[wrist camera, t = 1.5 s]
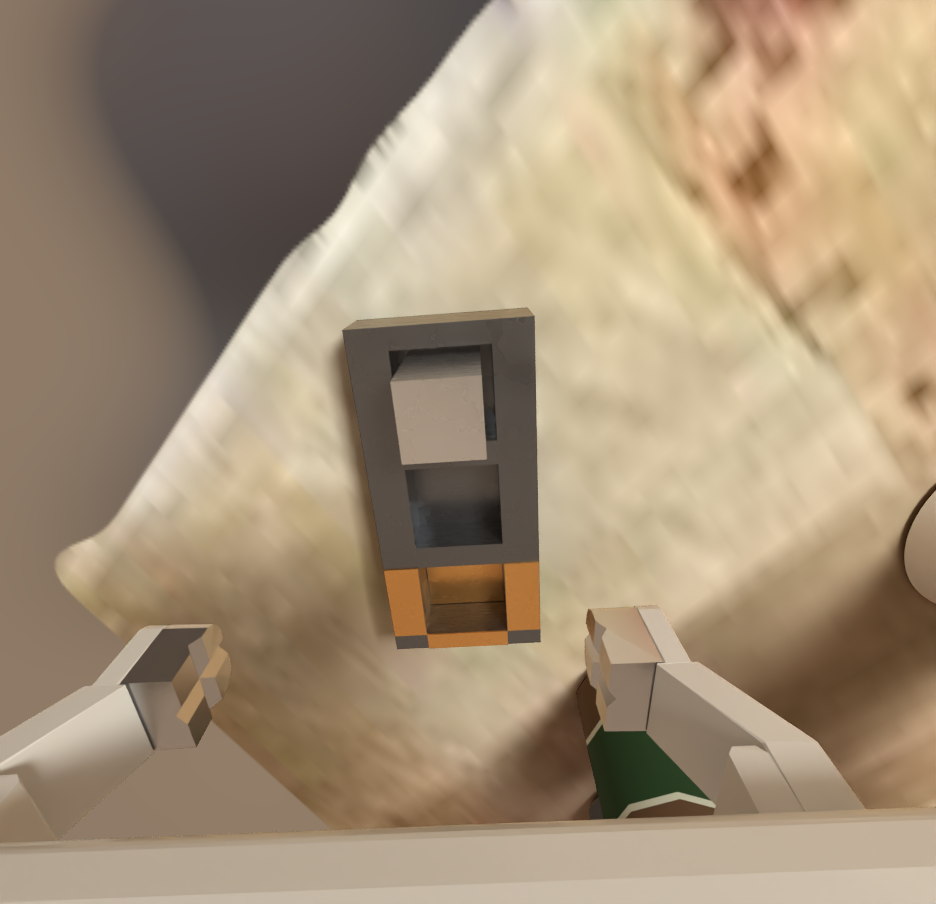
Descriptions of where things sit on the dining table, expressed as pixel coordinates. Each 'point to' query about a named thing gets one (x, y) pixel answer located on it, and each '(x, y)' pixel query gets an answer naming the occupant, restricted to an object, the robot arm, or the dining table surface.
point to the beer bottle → (635, 771)
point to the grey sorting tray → (455, 486)
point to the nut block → (440, 406)
